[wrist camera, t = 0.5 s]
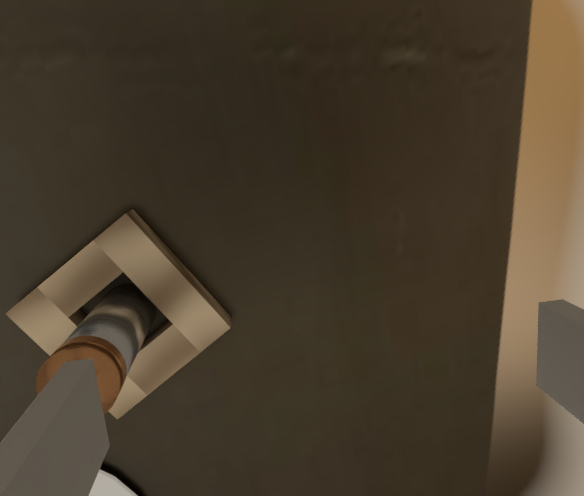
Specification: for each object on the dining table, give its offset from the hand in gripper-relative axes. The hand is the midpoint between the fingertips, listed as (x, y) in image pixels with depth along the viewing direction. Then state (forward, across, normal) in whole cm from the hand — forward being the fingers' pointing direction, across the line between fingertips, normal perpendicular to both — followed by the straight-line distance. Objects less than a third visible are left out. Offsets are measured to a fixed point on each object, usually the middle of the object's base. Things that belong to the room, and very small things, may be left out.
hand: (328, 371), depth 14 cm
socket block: (+26, -12, -6) cm, 30 cm away
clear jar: (+26, -12, -6) cm, 30 cm away
